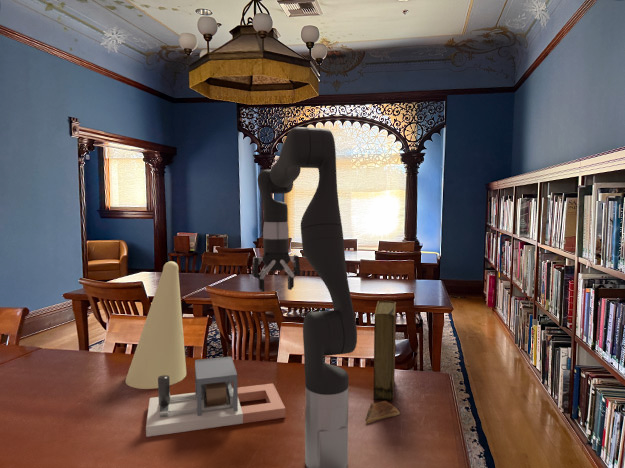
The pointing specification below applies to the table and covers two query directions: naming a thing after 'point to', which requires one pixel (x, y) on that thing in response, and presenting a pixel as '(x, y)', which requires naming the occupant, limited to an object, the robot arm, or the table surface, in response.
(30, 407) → the table surface
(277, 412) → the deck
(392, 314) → the book
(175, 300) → the cone light
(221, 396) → the block
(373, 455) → the table surface
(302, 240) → the robot arm
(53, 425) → the table surface
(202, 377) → the tunnel
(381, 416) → the shard
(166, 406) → the sled
